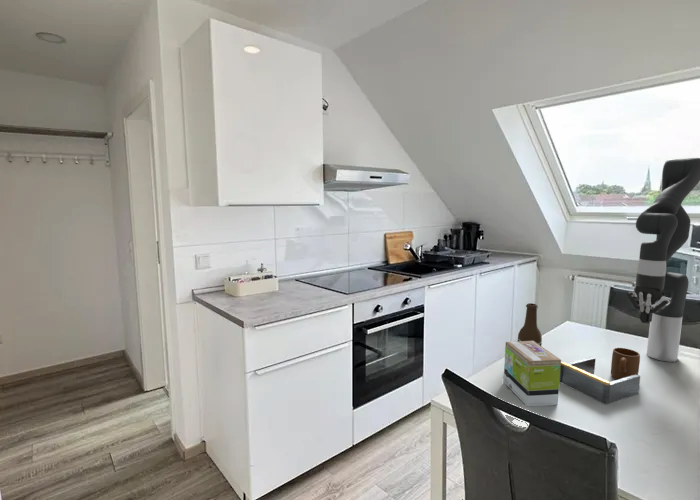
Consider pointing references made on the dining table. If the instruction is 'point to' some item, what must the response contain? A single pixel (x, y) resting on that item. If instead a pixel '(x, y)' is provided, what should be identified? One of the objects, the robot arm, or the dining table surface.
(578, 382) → the bracket
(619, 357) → the mug
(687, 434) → the dining table surface
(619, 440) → the dining table surface
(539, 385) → the tea box
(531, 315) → the beer bottle
